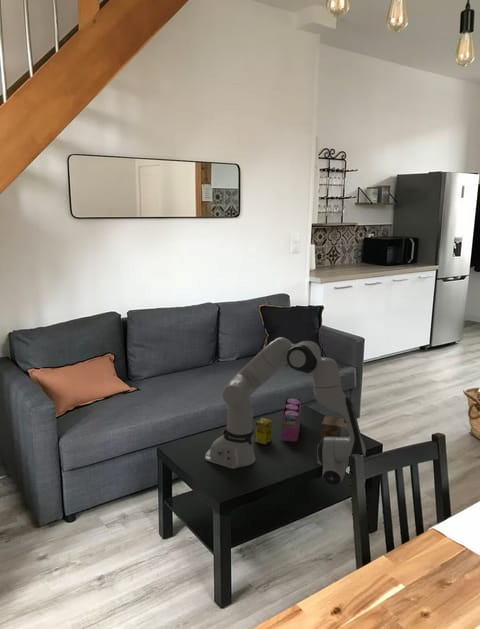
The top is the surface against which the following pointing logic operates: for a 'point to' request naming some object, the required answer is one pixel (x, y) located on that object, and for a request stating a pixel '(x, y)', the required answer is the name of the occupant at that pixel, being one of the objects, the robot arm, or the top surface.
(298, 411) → the gum box
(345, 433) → the brushed metal block
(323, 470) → the robot arm
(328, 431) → the walnut block
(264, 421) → the supplement box
